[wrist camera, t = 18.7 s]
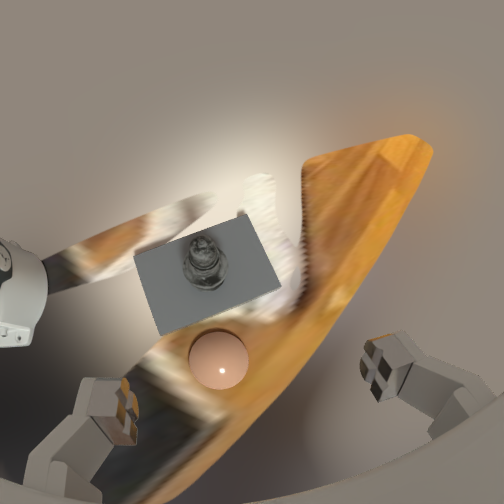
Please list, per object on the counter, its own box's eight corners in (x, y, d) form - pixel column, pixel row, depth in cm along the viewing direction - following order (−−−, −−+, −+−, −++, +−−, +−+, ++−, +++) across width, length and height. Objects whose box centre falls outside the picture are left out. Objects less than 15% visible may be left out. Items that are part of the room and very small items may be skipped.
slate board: (162, 336, 38) (160, 335, 37) (135, 259, 42) (133, 256, 40) (279, 288, 42) (281, 286, 41) (246, 218, 46) (246, 213, 44)
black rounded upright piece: (200, 246, 42) (194, 205, 31) (235, 267, 41) (241, 232, 30) (177, 279, 40) (161, 249, 29) (213, 302, 39) (210, 280, 28)
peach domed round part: (204, 396, 36) (203, 397, 36) (181, 344, 39) (180, 344, 38) (257, 375, 38) (258, 375, 37) (233, 323, 40) (234, 322, 40)
